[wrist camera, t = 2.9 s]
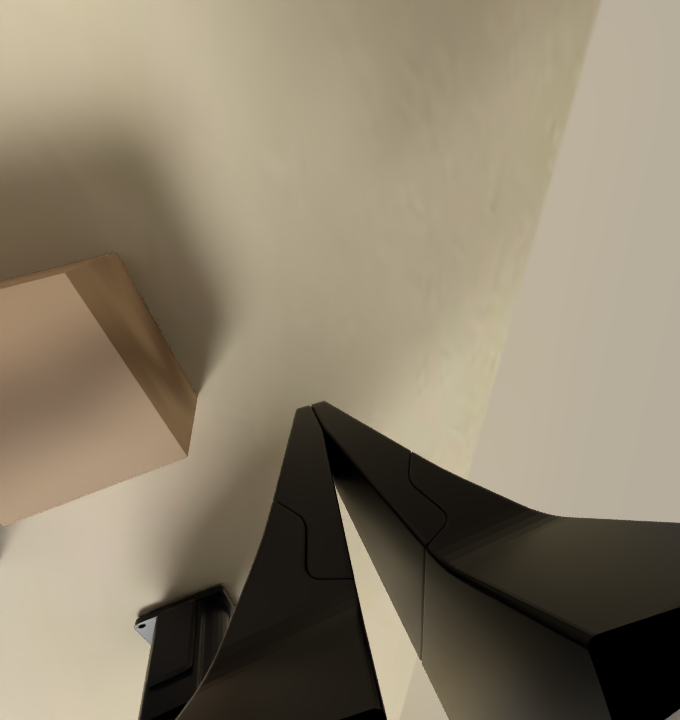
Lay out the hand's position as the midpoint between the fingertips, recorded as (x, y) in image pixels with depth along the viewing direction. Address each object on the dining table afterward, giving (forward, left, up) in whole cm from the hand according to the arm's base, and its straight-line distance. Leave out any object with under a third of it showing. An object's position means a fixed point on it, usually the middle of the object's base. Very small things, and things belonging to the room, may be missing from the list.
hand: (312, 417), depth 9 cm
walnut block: (0, +9, -9) cm, 13 cm away
